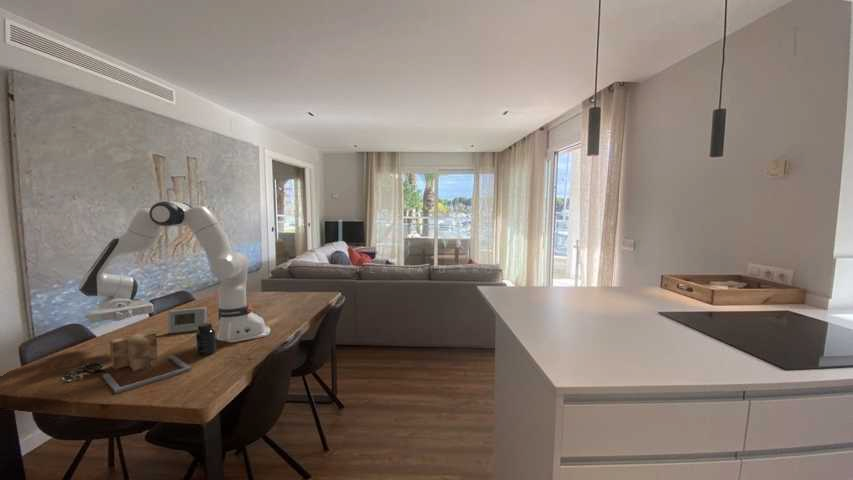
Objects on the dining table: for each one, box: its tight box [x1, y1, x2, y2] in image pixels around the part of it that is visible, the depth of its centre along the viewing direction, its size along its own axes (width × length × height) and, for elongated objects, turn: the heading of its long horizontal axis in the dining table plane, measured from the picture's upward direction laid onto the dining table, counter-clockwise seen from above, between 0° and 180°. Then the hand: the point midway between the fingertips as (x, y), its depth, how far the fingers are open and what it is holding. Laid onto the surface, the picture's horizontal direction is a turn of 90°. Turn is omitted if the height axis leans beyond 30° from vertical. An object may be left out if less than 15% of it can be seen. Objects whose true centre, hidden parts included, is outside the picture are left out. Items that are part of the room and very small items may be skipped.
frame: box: [102, 354, 192, 394], centre depth 124 cm, size 21×18×1 cm
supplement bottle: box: [195, 322, 217, 357], centre depth 142 cm, size 7×7×12 cm
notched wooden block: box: [109, 330, 158, 372], centre depth 132 cm, size 13×12×10 cm
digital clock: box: [167, 307, 208, 334], centre depth 171 cm, size 16×9×11 cm, turn 102°
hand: (126, 315), depth 138 cm, fingers closed
